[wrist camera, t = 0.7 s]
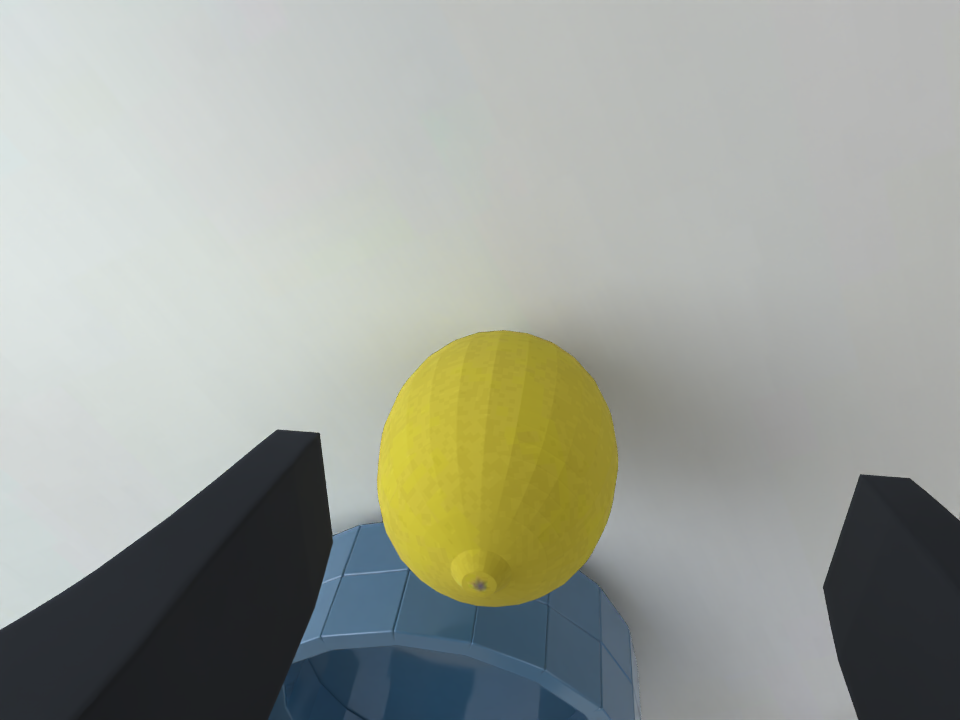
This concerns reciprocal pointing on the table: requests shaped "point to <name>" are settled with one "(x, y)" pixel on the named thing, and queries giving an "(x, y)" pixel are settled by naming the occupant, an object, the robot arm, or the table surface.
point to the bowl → (453, 649)
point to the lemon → (497, 469)
